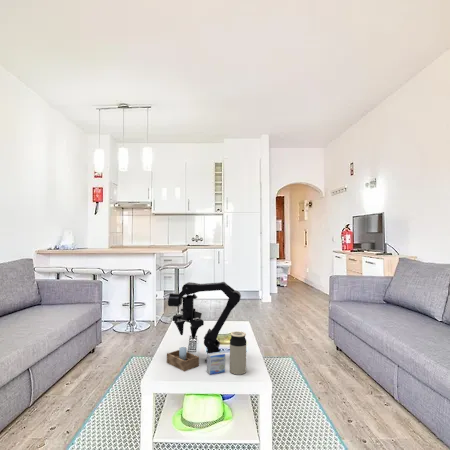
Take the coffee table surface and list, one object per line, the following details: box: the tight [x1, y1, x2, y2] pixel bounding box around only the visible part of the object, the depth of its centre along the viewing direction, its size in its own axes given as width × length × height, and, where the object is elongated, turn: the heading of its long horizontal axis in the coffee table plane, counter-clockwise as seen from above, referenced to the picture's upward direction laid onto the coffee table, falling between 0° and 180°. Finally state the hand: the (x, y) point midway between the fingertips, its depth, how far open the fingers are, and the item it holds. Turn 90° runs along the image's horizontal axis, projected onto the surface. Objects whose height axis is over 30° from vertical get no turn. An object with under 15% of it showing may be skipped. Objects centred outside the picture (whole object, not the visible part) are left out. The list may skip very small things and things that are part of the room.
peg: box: [178, 346, 187, 361], centre depth 158 cm, size 4×4×8 cm
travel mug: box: [229, 330, 247, 375], centre depth 151 cm, size 8×8×18 cm
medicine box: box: [206, 351, 226, 376], centre depth 150 cm, size 8×4×9 cm, turn 113°
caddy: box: [166, 349, 200, 372], centre depth 158 cm, size 15×9×4 cm, turn 46°
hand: (187, 336), depth 164 cm, fingers open, 9 cm apart
